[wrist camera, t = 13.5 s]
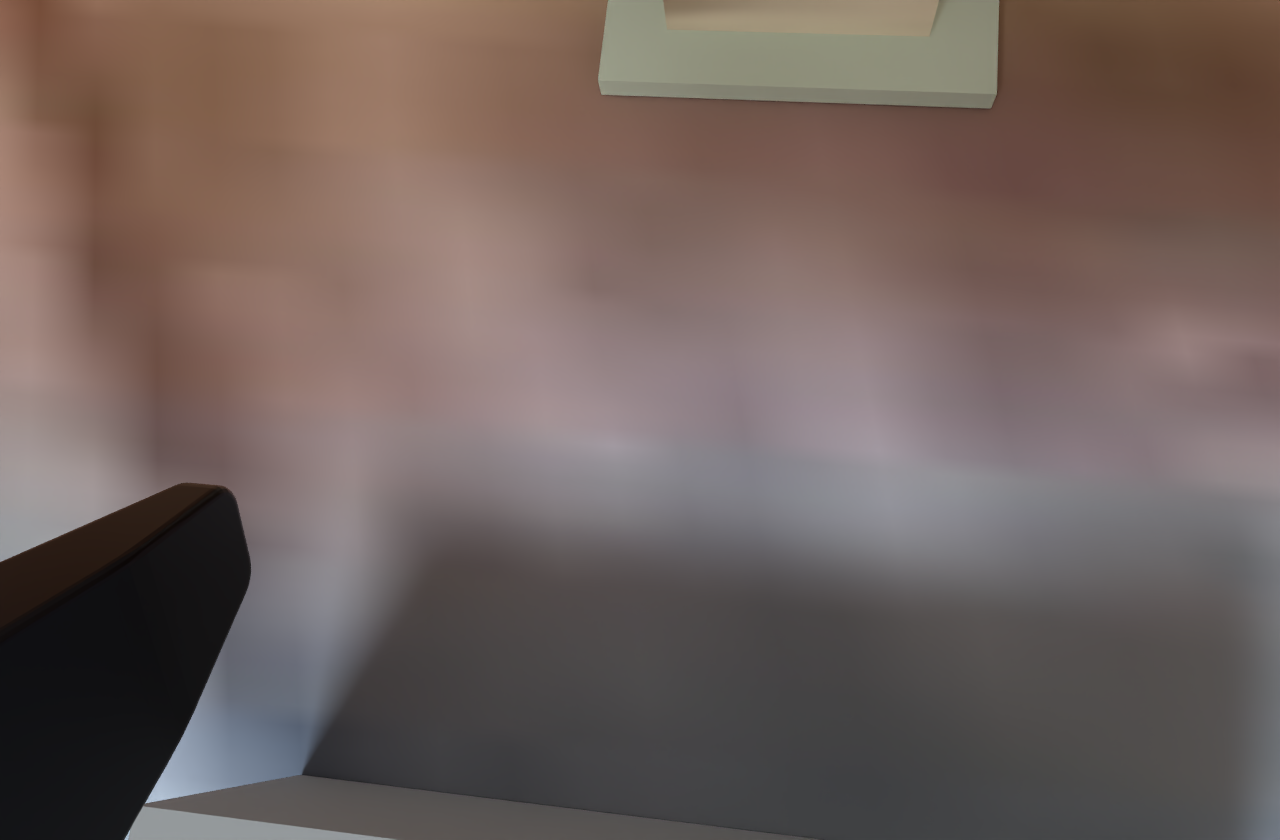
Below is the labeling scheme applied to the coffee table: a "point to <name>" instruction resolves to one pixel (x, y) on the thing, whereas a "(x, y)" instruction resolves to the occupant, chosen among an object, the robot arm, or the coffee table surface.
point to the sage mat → (804, 60)
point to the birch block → (804, 16)
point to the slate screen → (394, 817)
